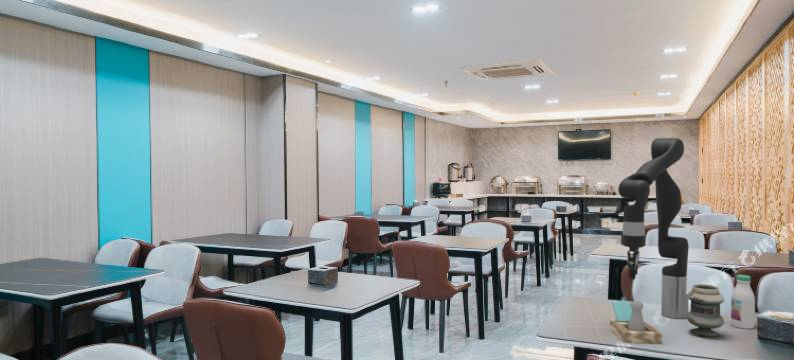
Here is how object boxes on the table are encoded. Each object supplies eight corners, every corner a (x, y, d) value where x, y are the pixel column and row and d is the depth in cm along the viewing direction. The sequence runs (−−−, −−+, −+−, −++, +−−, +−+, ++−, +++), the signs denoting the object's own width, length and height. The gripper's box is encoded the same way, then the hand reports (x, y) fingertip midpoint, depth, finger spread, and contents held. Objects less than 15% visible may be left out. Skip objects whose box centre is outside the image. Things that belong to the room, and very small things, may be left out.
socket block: (638, 324, 206) (638, 316, 206) (661, 343, 184) (662, 333, 184) (604, 323, 207) (604, 315, 207) (623, 342, 185) (624, 332, 185)
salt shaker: (646, 340, 187) (647, 304, 187) (629, 339, 189) (630, 303, 188) (642, 335, 193) (642, 300, 193) (626, 334, 194) (626, 299, 194)
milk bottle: (752, 324, 206) (753, 274, 206) (756, 330, 199) (757, 278, 199) (729, 322, 209) (730, 273, 209) (732, 327, 202) (733, 276, 202)
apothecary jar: (684, 335, 193) (685, 287, 193) (688, 327, 203) (689, 281, 202) (722, 341, 186) (723, 291, 186) (724, 333, 196) (725, 285, 196)
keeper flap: (632, 303, 205) (633, 301, 204) (639, 323, 198) (639, 321, 198) (611, 302, 206) (612, 301, 205) (617, 322, 199) (618, 320, 198)
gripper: (643, 236, 185) (642, 281, 186) (646, 231, 198) (645, 274, 198) (620, 235, 189) (620, 279, 190) (624, 230, 201) (624, 272, 202)
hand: (633, 276), depth 194 cm, fingers open, 8 cm apart
